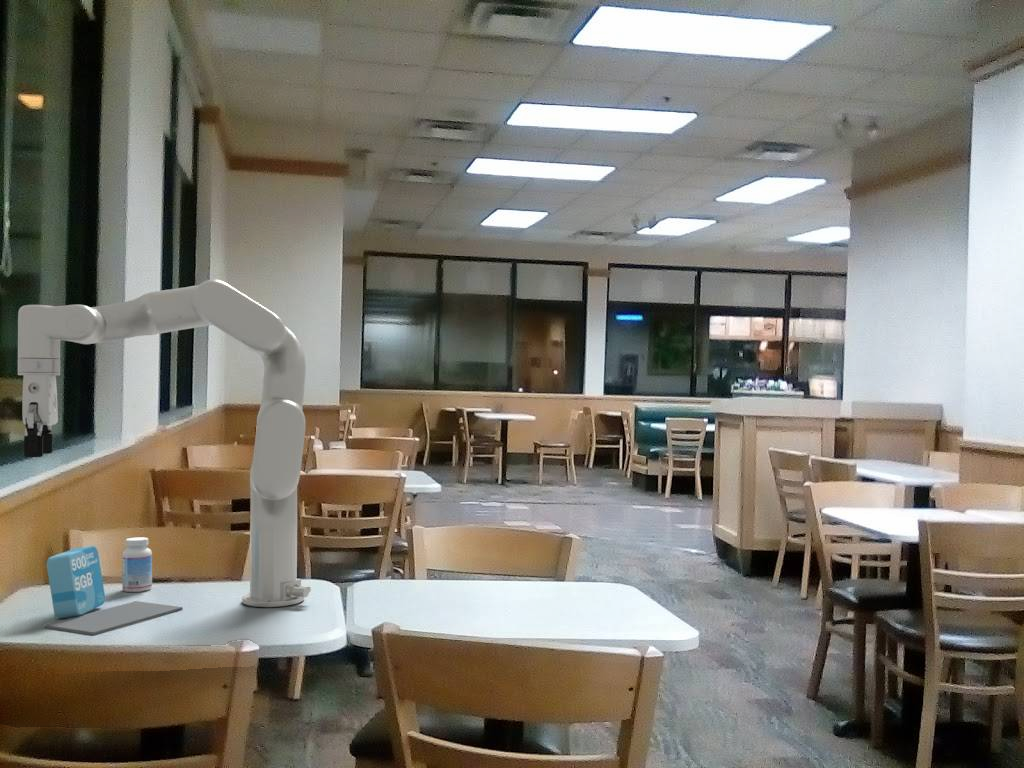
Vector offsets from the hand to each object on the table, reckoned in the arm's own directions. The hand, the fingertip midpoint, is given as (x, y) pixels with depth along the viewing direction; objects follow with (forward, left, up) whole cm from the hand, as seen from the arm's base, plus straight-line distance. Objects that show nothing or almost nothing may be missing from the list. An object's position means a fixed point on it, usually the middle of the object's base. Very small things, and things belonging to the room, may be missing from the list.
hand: (38, 455), depth 190 cm
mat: (-17, -4, -31) cm, 36 cm away
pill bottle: (0, -25, -31) cm, 40 cm away
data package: (-7, -4, -31) cm, 32 cm away
